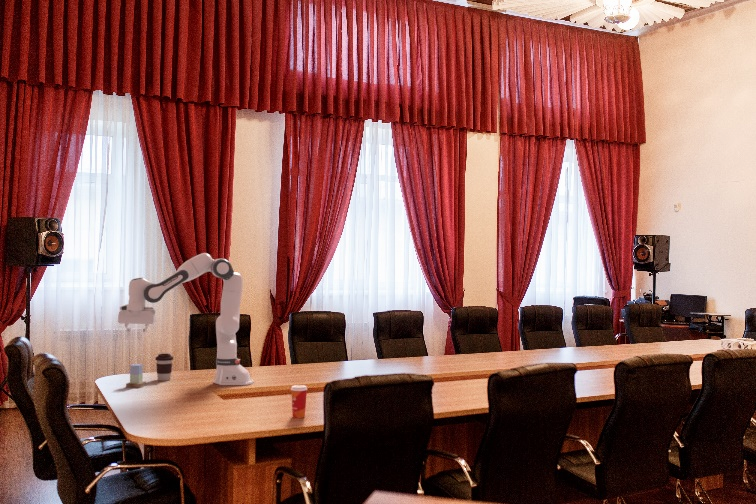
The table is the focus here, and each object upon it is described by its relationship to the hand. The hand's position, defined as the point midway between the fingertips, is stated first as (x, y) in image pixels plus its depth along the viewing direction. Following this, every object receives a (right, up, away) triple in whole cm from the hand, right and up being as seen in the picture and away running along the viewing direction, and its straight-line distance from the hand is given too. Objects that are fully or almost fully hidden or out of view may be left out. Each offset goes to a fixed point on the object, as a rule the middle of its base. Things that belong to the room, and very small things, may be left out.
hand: (136, 331), depth 386 cm
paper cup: (+98, -32, -66) cm, 122 cm away
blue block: (0, -23, 0) cm, 23 cm away
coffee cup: (+9, -31, +20) cm, 38 cm away
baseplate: (0, -30, 0) cm, 30 cm away
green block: (0, -28, 0) cm, 28 cm away
